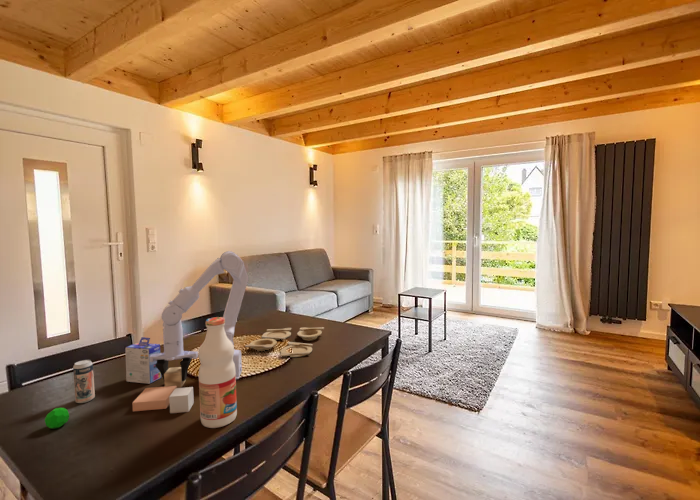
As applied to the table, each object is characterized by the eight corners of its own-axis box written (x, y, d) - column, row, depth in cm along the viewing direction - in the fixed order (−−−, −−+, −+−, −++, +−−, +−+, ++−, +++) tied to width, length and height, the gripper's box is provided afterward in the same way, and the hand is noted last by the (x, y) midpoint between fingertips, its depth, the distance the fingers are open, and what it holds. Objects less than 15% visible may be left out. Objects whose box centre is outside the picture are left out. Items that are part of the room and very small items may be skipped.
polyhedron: (42, 434, 88) (40, 416, 87) (49, 423, 92) (48, 406, 92) (66, 429, 90) (64, 411, 89) (72, 419, 94) (71, 402, 94)
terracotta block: (177, 394, 108) (176, 385, 108) (166, 409, 99) (165, 399, 99) (146, 397, 107) (145, 387, 107) (133, 412, 98) (132, 402, 98)
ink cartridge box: (162, 377, 120) (160, 337, 119) (150, 384, 114) (148, 342, 113) (138, 375, 122) (136, 335, 121) (125, 382, 116) (123, 340, 115)
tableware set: (269, 331, 173) (269, 323, 173) (326, 332, 169) (326, 324, 168) (237, 357, 138) (237, 347, 138) (307, 360, 134) (307, 350, 134)
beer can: (73, 405, 101) (70, 366, 100) (77, 398, 105) (74, 361, 105) (93, 401, 103) (90, 363, 103) (96, 394, 108) (94, 358, 107)
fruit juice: (204, 412, 97) (200, 315, 95) (238, 407, 99) (235, 313, 97) (197, 431, 88) (192, 325, 86) (235, 426, 90) (231, 322, 88)
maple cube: (185, 380, 117) (185, 366, 117) (181, 387, 112) (180, 372, 112) (170, 381, 116) (169, 367, 116) (164, 388, 111) (164, 374, 111)
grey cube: (193, 402, 102) (193, 386, 102) (188, 411, 98) (187, 395, 97) (176, 404, 102) (175, 388, 101) (170, 413, 97) (169, 396, 96)
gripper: (144, 346, 108) (146, 387, 109) (192, 343, 110) (194, 384, 111) (153, 339, 115) (155, 378, 116) (198, 336, 117) (200, 374, 118)
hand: (175, 380), depth 114 cm, fingers closed on maple cube, 5 cm apart
